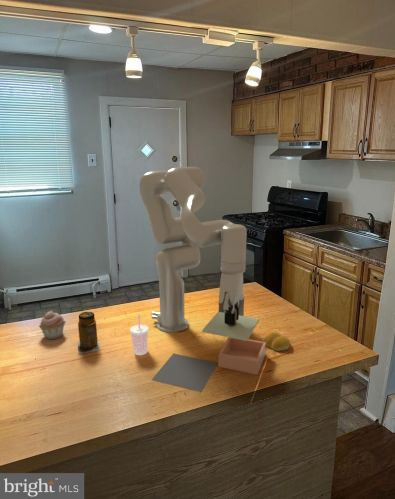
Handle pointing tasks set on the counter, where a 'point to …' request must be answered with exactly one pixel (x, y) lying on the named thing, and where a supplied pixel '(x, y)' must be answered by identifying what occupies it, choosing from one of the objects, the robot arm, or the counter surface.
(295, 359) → the counter surface
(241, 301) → the pillar candle
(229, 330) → the lid
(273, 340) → the bread roll
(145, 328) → the beverage cup
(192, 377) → the mat
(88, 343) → the condiment
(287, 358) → the counter surface
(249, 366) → the open box
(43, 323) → the cupcake
